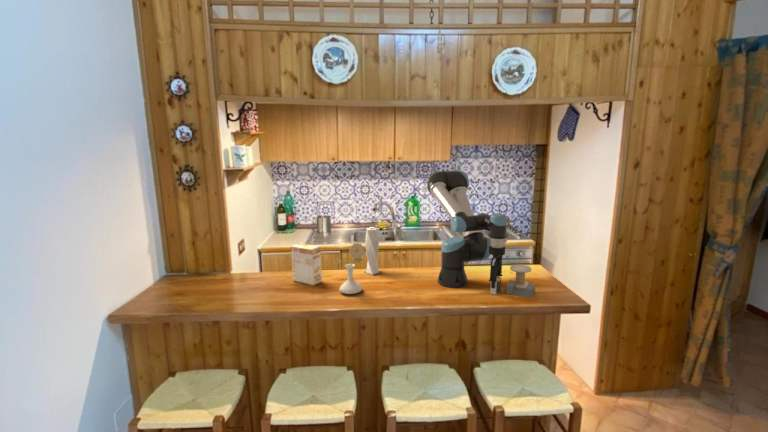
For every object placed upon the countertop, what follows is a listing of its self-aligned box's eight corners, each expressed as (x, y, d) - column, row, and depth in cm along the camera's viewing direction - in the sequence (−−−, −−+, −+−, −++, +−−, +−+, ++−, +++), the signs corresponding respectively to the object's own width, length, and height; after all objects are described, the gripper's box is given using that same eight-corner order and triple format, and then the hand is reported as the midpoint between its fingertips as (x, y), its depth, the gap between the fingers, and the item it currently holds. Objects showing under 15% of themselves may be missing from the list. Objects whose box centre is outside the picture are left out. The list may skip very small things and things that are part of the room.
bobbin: (507, 287, 207) (508, 269, 205) (511, 280, 216) (512, 263, 214) (528, 290, 202) (529, 271, 201) (531, 283, 211) (532, 266, 209)
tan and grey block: (490, 292, 200) (490, 278, 199) (492, 289, 204) (492, 276, 203) (498, 294, 198) (499, 280, 197) (500, 291, 202) (501, 277, 201)
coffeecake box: (322, 281, 219) (320, 246, 215) (313, 285, 213) (311, 249, 210) (301, 276, 227) (299, 242, 223) (292, 280, 221) (290, 245, 217)
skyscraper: (383, 272, 232) (382, 224, 226) (373, 276, 226) (372, 226, 220) (372, 269, 237) (371, 222, 232) (362, 273, 232) (361, 224, 226)
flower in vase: (339, 297, 198) (338, 246, 193) (338, 288, 209) (337, 240, 204) (366, 295, 200) (365, 245, 195) (364, 286, 211) (363, 239, 206)
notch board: (505, 293, 199) (506, 285, 198) (509, 288, 206) (509, 280, 205) (531, 297, 193) (532, 289, 192) (534, 292, 200) (535, 284, 199)
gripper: (500, 252, 186) (498, 299, 191) (509, 242, 203) (507, 286, 208) (483, 250, 190) (482, 296, 194) (494, 240, 207) (492, 283, 211)
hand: (495, 291), depth 201 cm, fingers open, 7 cm apart
